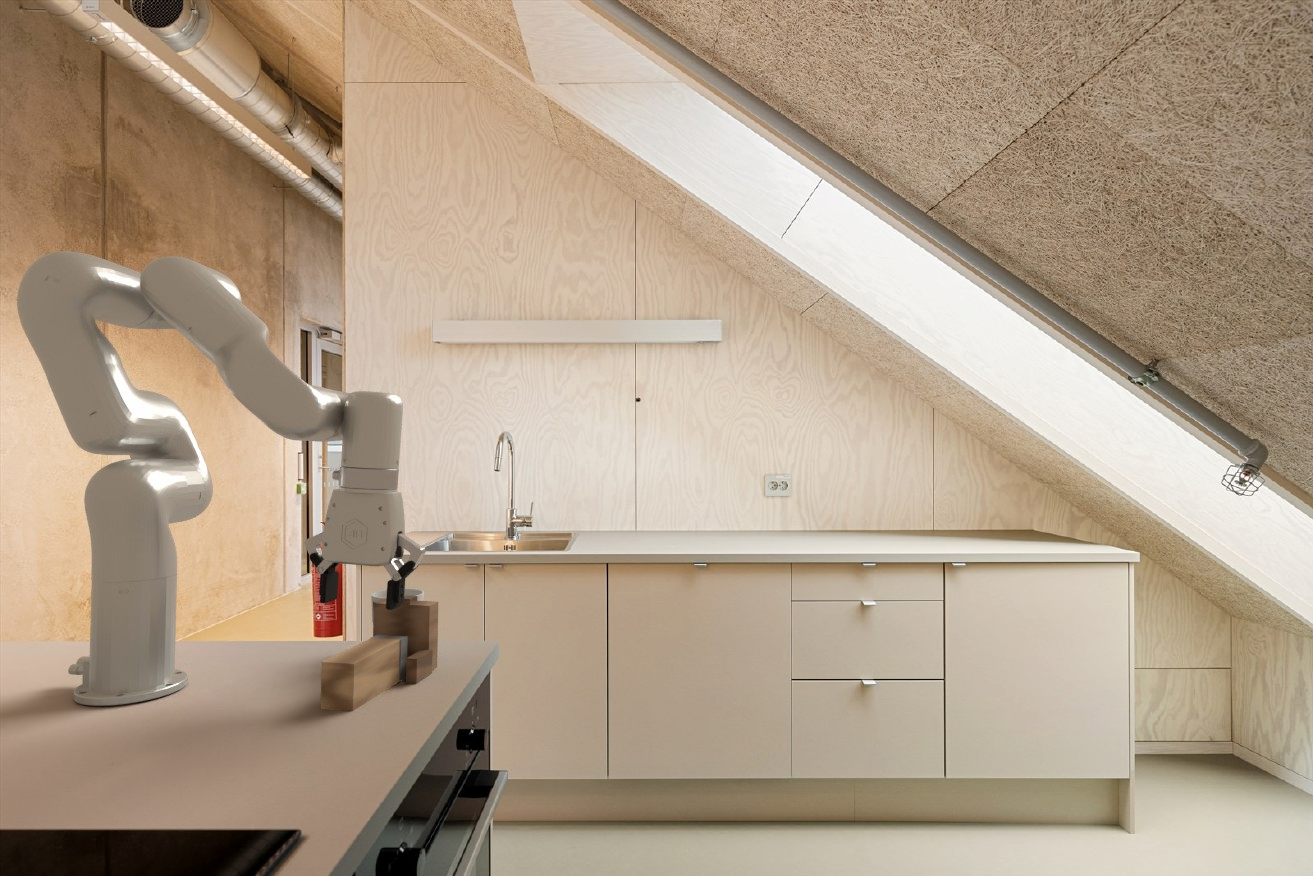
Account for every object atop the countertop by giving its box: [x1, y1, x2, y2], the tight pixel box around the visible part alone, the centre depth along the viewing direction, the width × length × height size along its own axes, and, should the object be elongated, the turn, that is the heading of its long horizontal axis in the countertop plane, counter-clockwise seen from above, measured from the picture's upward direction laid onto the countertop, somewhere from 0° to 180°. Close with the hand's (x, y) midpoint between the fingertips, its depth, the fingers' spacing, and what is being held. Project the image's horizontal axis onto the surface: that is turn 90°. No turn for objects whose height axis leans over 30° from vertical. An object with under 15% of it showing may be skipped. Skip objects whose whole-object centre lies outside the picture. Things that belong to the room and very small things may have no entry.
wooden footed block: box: [372, 595, 439, 684], centre depth 108 cm, size 10×8×11 cm
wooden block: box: [320, 635, 408, 712], centre depth 100 cm, size 5×14×6 cm, turn 172°
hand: (360, 604), depth 100 cm, fingers open, 9 cm apart
